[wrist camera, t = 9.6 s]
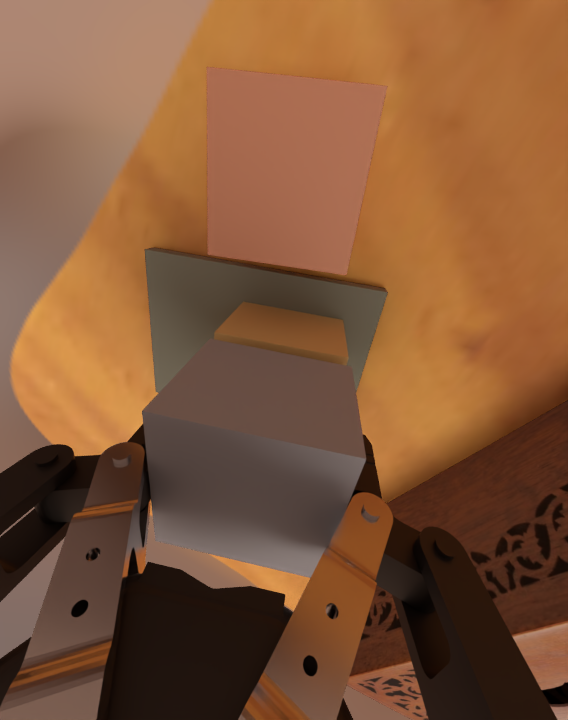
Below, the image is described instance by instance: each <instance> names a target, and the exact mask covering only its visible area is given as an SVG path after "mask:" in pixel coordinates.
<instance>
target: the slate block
mask: <svg viewBox="0 0 568 720" xmlns="http://www.w3.org/2000/svg"><path fill="white" fill-rule="evenodd" d="M142 415H143V425H144V435H145V445H146V454H147V464H148V474H149V483H150V493H151V503H152V513H153V522H154V532H155V541H158V542H162V543H166V544H171V545H175V546H179V547H183V548H187V549H191V550H196V551H200V552H204V553H208V554H213V555H217V556H221V557H225V558H229V559H234V560H238V561H242V562H246V563H251V564H255V565H259V566H263V567H267V568H272V569H276V570H280V571H284V572H289V573H293V574H297V575H301V576H305V577H310V578H311V576H312V574H313V572H314V570H315V568H316V566H317V564H318V562H319V560H320V558H321V556H322V554H323V552H324V550H325V549H326V547H327V546H328V545H329V543H330V541H331V539H332V537H333V535H334V533H335V531H336V529H337V527H338V525H339V523H340V521H341V519H342V517H343V515H344V513H345V511H346V508H347V506H348V503H349V501H350V498H351V496H352V493H353V491H354V489H355V486H356V484H357V481H358V479H359V476H360V474H361V471H362V469H363V466H364V464H365V461H366V454H365V447H364V441H363V435H362V428H361V422H360V416H359V409H358V403H357V396H356V390H355V384H354V377H353V371H352V367H351V366H346V365H341V364H336V363H331V362H326V361H321V360H316V359H310V358H305V357H300V356H295V355H290V354H285V353H280V352H275V351H270V350H265V349H260V348H255V347H250V346H245V345H240V344H235V343H230V342H225V341H220V340H215V339H209V340H208V341H207V342H206V343H205V344H204V346H203V347H202V348H201V349H200V350H199V351H198V352H197V353H196V354H195V355H194V356H193V357H192V358H191V359H190V360H189V362H188V363H187V364H186V365H185V366H184V367H183V368H182V369H181V370H180V371H179V372H178V373H177V374H176V375H175V376H174V378H173V379H172V380H171V381H170V382H169V383H168V384H167V385H166V386H165V387H164V388H163V389H162V390H161V391H160V392H159V394H158V395H157V396H156V397H155V398H154V399H153V400H152V401H151V402H150V403H149V404H148V405H147V406H146V407H145V408H144V410H143V411H142Z"/></svg>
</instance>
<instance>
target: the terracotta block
mask: <svg viewBox="0 0 568 720" xmlns="http://www.w3.org/2000/svg"><path fill="white" fill-rule="evenodd" d="M386 90H387V86H383V85H374V84H364V83H355V82H345V81H336V80H326V79H317V78H308V77H298V76H289V75H279V74H270V73H261V72H251V71H242V70H232V69H223V68H213V67H207V207H208V255H213V256H220V257H226V258H233V259H240V260H247V261H253V262H260V263H267V264H274V265H280V266H287V267H294V268H301V269H308V270H314V271H321V272H328V273H335V274H341V275H347V270H348V266H349V261H350V257H351V252H352V247H353V243H354V238H355V233H356V229H357V224H358V220H359V215H360V210H361V206H362V201H363V196H364V192H365V187H366V183H367V178H368V173H369V169H370V164H371V159H372V155H373V150H374V146H375V141H376V136H377V132H378V127H379V122H380V118H381V113H382V109H383V104H384V99H385V95H386Z"/></svg>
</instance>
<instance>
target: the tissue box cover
mask: <svg viewBox="0 0 568 720" xmlns="http://www.w3.org/2000/svg"><path fill="white" fill-rule="evenodd" d="M387 505H388V507H389V508H390V510H391V512H392V515H393V516H394V517H395V518H396V519H398V520H399V521H401V522H403V523H404V524H406V525H408V526H410V527H412V528H414V529H416V530H418V531H420V532H421V531H422V530H423V529H424V528H426V527H432V526H433V527H438V528H441V529H443V530H445V531H447V532H449V533H450V534H451V535H453V536H454V537H455V538H456V539H457V540H458V541H459V542H460V543H461V544H462V546H463V547H464V549H465V550H466V552H467V554H468V556H469V558H470V560H471V561H472V563H473V565H474V567H475V569H476V571H477V572H478V574H479V576H480V578H481V580H482V582H483V583H484V585H485V587H486V589H487V591H488V593H489V594H490V596H491V598H492V600H493V602H494V604H495V605H496V607H497V609H498V611H499V613H500V615H501V616H502V618H503V620H504V622H505V624H506V626H507V628H508V629H509V631H510V633H511V635H512V637H513V639H514V640H515V642H516V644H517V646H518V648H519V650H520V651H521V653H522V655H523V657H524V659H525V661H526V662H527V664H528V666H529V668H530V670H531V672H532V673H533V675H534V677H535V679H536V681H537V683H538V684H539V686H540V688H541V690H542V692H543V694H544V695H545V697H546V699H547V701H548V703H549V705H550V707H551V708H552V710H553V712H554V714H555V716H556V718H557V719H558V720H568V400H567V401H566V402H564V403H562V404H560V405H559V406H557V407H555V408H553V409H552V410H550V411H548V412H546V413H545V414H543V415H541V416H539V417H538V418H536V419H534V420H532V421H531V422H529V423H527V424H525V425H524V426H522V427H520V428H518V429H517V430H515V431H513V432H511V433H510V434H508V435H506V436H504V437H503V438H501V439H499V440H497V441H496V442H494V443H492V444H490V445H489V446H487V447H485V448H483V449H482V450H480V451H478V452H476V453H475V454H473V455H471V456H469V457H468V458H466V459H464V460H462V461H461V462H459V463H457V464H455V465H454V466H452V467H450V468H448V469H447V470H445V471H443V472H441V473H440V474H438V475H436V476H434V477H433V478H431V479H429V480H427V481H426V482H424V483H422V484H420V485H419V486H417V487H415V488H413V489H412V490H410V491H408V492H406V493H405V494H403V495H401V496H399V497H398V498H396V499H394V500H392V501H391V502H389V503H387ZM347 686H349V687H351V688H353V689H354V690H356V691H358V692H360V693H362V694H364V695H366V696H368V697H370V698H372V699H373V700H375V701H377V702H379V703H381V704H383V705H385V706H387V707H389V708H390V709H392V710H394V711H396V712H398V713H400V714H402V715H404V716H406V717H408V718H409V719H411V720H429V719H428V716H427V712H426V709H425V705H424V702H423V699H422V695H421V692H420V688H419V685H418V682H417V678H416V675H415V671H414V668H413V665H412V661H411V658H410V654H409V651H408V648H407V644H406V641H405V637H404V634H403V631H402V627H401V624H400V620H399V617H398V613H397V610H396V607H395V603H394V600H393V596H392V594H390V593H389V592H387V591H386V590H384V589H382V588H381V587H379V586H377V585H376V589H375V593H374V596H373V600H372V603H371V606H370V610H369V613H368V616H367V620H366V623H365V626H364V630H363V633H362V636H361V640H360V643H359V646H358V650H357V653H356V656H355V660H354V663H353V666H352V670H351V673H350V676H349V680H348V683H347Z"/></svg>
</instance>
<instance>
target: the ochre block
mask: <svg viewBox="0 0 568 720" xmlns="http://www.w3.org/2000/svg"><path fill="white" fill-rule="evenodd" d="M214 339H215V340H220V341H225V342H230V343H235V344H240V345H245V346H250V347H255V348H260V349H265V350H270V351H275V352H280V353H285V354H290V355H295V356H300V357H305V358H310V359H316V360H321V361H326V362H331V363H336V364H341V365H347V362H348V358H349V357H348V350H347V343H346V337H345V330H344V323H343V320H341V319H335V318H330V317H324V316H319V315H314V314H308V313H303V312H297V311H292V310H286V309H281V308H275V307H270V306H265V305H259V304H254V303H248V302H243V303H242V304H241V305H240V306H239V307H238V308H237V309H236V310H235V311H234V312H233V313H232V314H231V315H230V316H229V317H228V318H227V319H226V320H225V322H224V323H223V324H222V325H221V326H220V327H219V328H218V329H217V330H216V331H215V332H214Z"/></svg>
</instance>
